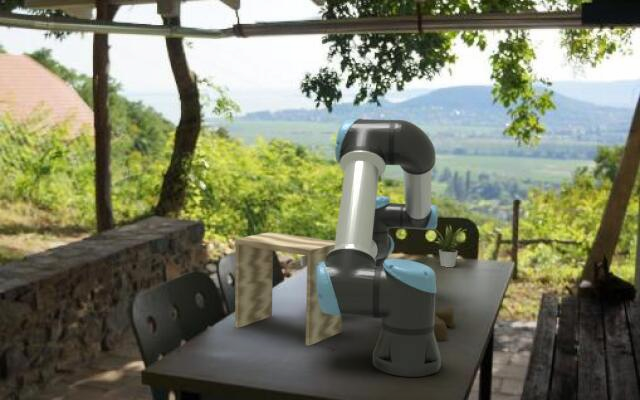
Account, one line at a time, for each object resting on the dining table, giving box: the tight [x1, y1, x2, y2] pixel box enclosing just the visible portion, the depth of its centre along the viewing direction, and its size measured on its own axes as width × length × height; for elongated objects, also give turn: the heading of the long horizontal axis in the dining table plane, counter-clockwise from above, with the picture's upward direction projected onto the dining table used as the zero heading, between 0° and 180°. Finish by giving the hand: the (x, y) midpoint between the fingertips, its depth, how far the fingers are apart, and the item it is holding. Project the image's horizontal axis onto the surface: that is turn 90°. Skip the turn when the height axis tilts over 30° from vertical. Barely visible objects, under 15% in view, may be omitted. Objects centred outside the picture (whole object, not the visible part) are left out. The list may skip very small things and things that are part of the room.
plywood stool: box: [234, 231, 342, 347], centre depth 178 cm, size 14×24×24 cm, turn 55°
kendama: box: [434, 306, 455, 341], centre depth 183 cm, size 6×10×20 cm
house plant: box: [434, 224, 466, 267], centre depth 261 cm, size 14×14×16 cm
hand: (314, 263), depth 187 cm, fingers closed on disposable coffee cup, 8 cm apart
